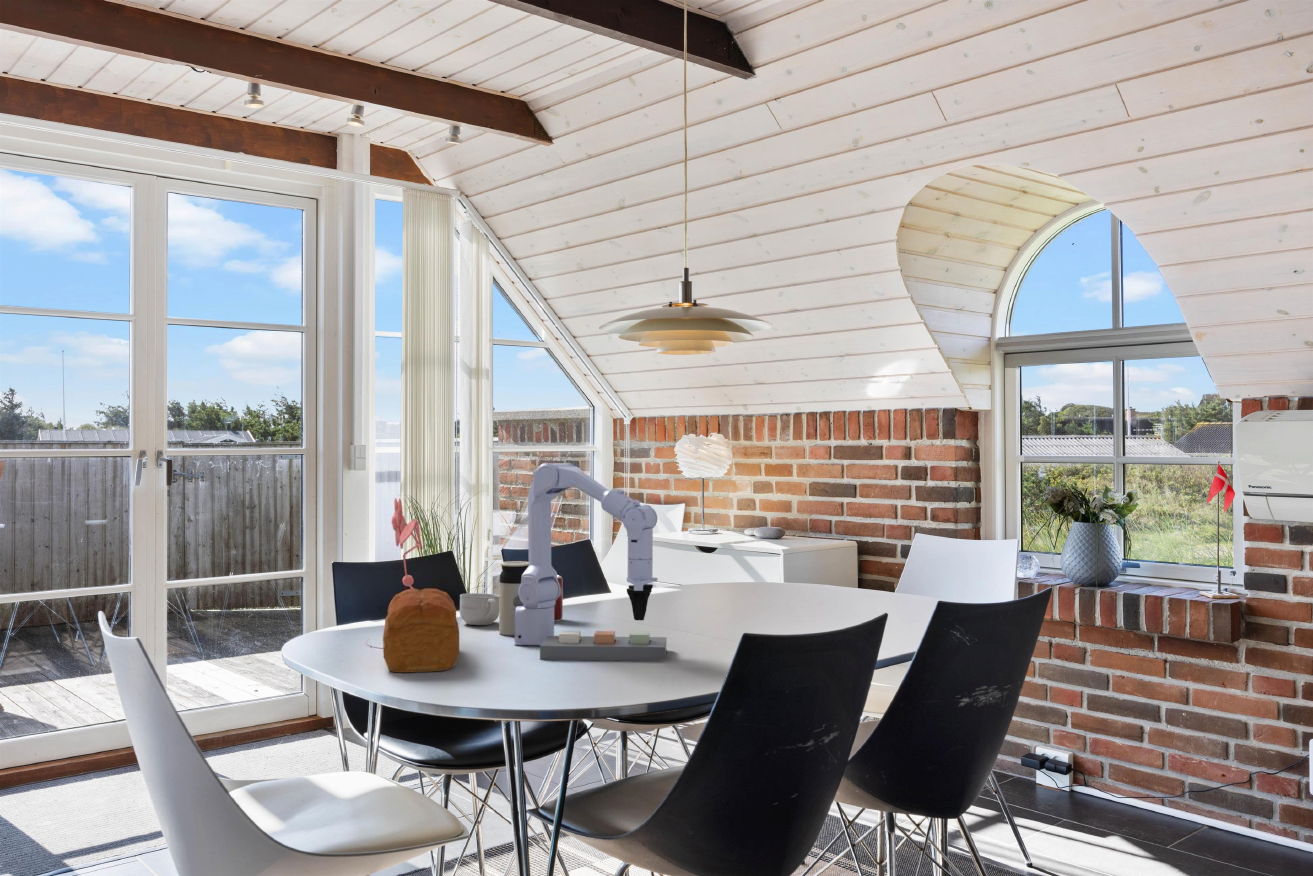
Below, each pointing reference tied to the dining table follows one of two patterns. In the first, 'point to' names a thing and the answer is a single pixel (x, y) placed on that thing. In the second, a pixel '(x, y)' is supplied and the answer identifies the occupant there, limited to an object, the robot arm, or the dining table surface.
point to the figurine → (404, 537)
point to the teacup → (479, 608)
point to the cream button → (570, 637)
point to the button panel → (603, 649)
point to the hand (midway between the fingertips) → (639, 618)
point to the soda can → (559, 602)
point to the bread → (421, 632)
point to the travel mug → (509, 594)
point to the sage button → (640, 637)
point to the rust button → (604, 637)
